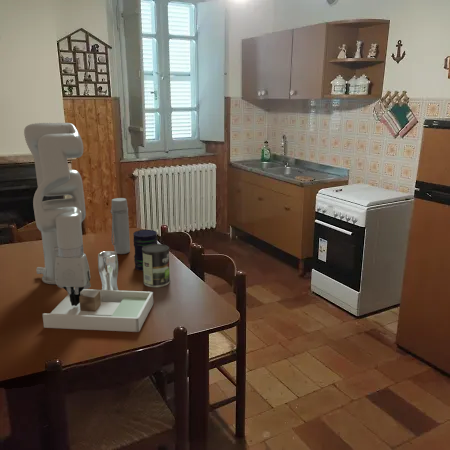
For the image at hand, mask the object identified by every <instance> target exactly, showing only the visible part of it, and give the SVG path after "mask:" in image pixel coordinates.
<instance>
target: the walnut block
mask: <svg viewBox="0 0 450 450" xmlns="http://www.w3.org/2000/svg"><path fill="white" fill-rule="evenodd" d="M79 300H80V311H92V312H96V310H97V309H98V308H99V307H100V305H101V299H100V291H90V290H85V291H84V292H83V293H82V294H81V295H80V296H79Z"/></svg>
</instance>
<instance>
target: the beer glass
mask: <svg viewBox="0 0 450 450" xmlns="http://www.w3.org/2000/svg"><path fill="white" fill-rule="evenodd" d="M118 260H119V259H118V254H117V253H116V252H115V251H112V250H106V251H101V252H99V253H98V254H97V267H98V272H99V276H100V281H101V290H119V288H118V275H119V261H118Z"/></svg>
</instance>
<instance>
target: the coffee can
mask: <svg viewBox="0 0 450 450" xmlns="http://www.w3.org/2000/svg"><path fill="white" fill-rule="evenodd" d="M142 253H143V271H142V272H143V285H144V286H146V287H149V288H162V287H165V286H167V285H169V284H170V283H171V280H170V279H171V278H170V277H171V276H170V275H171V273H170V246H168V245H167V244H162V243H158V244H151V245H147V246H144V247H143V248H142Z"/></svg>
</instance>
